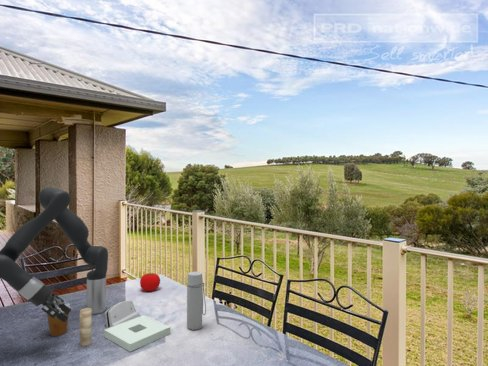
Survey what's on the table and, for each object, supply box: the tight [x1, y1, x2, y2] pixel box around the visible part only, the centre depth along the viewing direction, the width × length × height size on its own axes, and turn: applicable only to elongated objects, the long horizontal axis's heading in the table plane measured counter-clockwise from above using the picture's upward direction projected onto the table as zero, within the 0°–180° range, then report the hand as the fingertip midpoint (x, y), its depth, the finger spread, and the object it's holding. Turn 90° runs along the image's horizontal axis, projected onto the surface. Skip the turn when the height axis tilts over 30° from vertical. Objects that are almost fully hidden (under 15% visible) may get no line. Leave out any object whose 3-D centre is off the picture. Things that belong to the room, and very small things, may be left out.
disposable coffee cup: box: [46, 301, 71, 337], centre depth 146 cm, size 10×10×12 cm
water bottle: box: [186, 271, 207, 331], centre depth 152 cm, size 9×8×25 cm
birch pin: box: [79, 307, 93, 347], centre depth 136 cm, size 4×4×14 cm
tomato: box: [139, 272, 161, 292], centre depth 203 cm, size 12×12×10 cm
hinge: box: [104, 300, 140, 329], centre depth 158 cm, size 17×5×10 cm, turn 156°
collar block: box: [103, 315, 171, 353], centre depth 144 cm, size 20×20×3 cm
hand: (68, 316), depth 134 cm, fingers open, 8 cm apart
